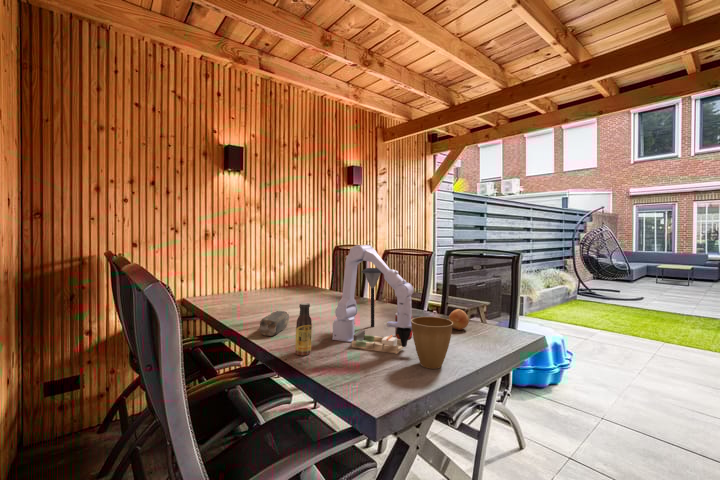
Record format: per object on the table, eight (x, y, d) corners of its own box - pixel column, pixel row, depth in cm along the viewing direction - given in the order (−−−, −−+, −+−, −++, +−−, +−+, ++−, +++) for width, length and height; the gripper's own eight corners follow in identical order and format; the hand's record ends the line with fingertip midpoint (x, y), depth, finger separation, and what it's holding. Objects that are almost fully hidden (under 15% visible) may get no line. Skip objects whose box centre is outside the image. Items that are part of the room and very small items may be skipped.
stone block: (289, 327, 176) (269, 326, 176) (290, 310, 176) (270, 309, 176) (279, 338, 156) (257, 336, 156) (280, 319, 156) (259, 317, 156)
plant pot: (445, 376, 112) (445, 328, 112) (404, 367, 120) (404, 322, 120) (458, 362, 124) (458, 319, 124) (420, 355, 132) (420, 314, 132)
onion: (445, 326, 173) (445, 307, 173) (463, 326, 174) (464, 307, 174) (452, 332, 163) (452, 311, 163) (472, 331, 164) (472, 311, 164)
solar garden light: (358, 329, 169) (358, 269, 168) (362, 323, 181) (362, 267, 180) (383, 330, 167) (383, 269, 166) (385, 324, 179) (385, 267, 178)
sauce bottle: (298, 357, 130) (297, 305, 130) (293, 352, 135) (293, 303, 135) (314, 354, 133) (314, 304, 133) (308, 349, 138) (308, 301, 138)
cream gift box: (381, 347, 139) (381, 338, 139) (386, 342, 144) (386, 334, 144) (392, 348, 137) (392, 339, 137) (397, 344, 142) (397, 335, 142)
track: (351, 346, 142) (351, 335, 142) (361, 340, 151) (361, 329, 151) (397, 353, 134) (397, 341, 134) (404, 346, 143) (404, 334, 143)
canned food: (393, 338, 153) (393, 314, 153) (398, 334, 161) (398, 311, 160) (409, 340, 150) (409, 316, 150) (413, 335, 158) (414, 312, 158)
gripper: (384, 313, 137) (384, 346, 137) (419, 316, 131) (419, 351, 131) (389, 309, 143) (389, 341, 144) (423, 313, 137) (423, 346, 138)
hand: (404, 346), depth 138 cm, fingers closed
